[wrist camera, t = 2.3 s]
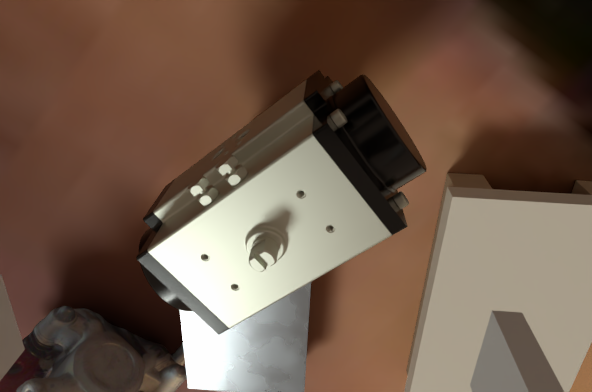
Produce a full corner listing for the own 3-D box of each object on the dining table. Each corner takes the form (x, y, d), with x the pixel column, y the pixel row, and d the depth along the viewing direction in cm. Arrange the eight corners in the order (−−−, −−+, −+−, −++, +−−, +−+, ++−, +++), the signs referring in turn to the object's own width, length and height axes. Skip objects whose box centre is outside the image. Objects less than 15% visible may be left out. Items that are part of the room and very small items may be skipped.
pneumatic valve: (401, 108, 25) (453, 223, 15) (238, 217, 29) (186, 371, 18) (341, 22, 23) (351, 82, 13) (176, 151, 27) (79, 279, 17)
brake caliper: (-17, 383, 34) (-88, 468, 23) (79, 258, 37) (58, 278, 25) (117, 452, 37) (112, 557, 26) (198, 331, 40) (226, 379, 28)
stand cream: (440, 172, 27) (452, 196, 24) (619, 182, 26) (651, 208, 24) (401, 370, 34) (407, 405, 32) (539, 380, 34) (557, 417, 31)
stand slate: (189, 243, 30) (175, 271, 27) (312, 251, 30) (311, 280, 27) (198, 354, 35) (187, 388, 32) (305, 363, 34) (303, 397, 32)
